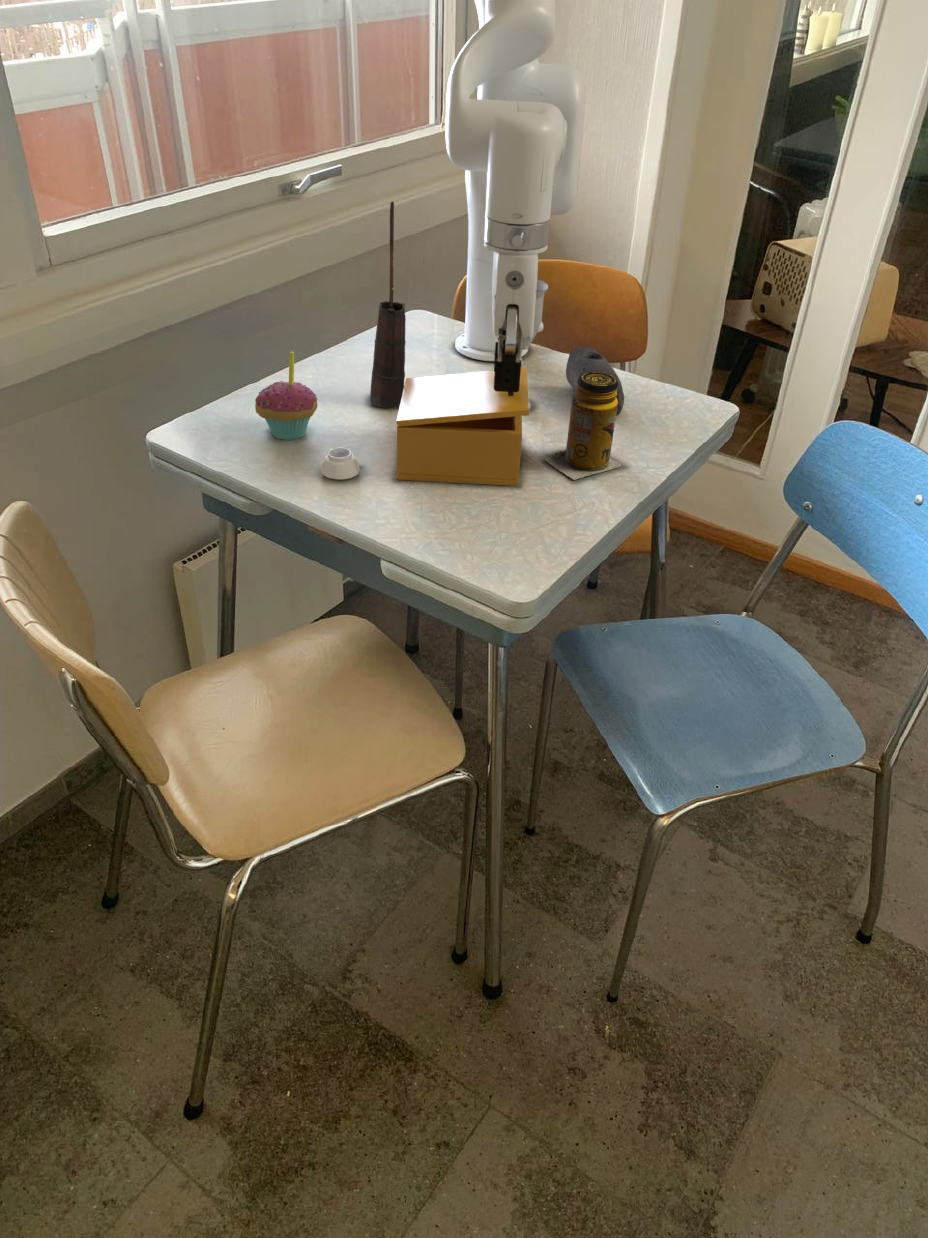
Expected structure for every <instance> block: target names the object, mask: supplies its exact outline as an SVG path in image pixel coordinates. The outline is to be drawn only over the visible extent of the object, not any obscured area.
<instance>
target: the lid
mask: <svg viewBox="0 0 928 1238" xmlns="http://www.w3.org/2000/svg"><path fill="white" fill-rule="evenodd" d="M494 375H495V372H494V369H492V370H482V371H481V370H480V371H470V372H459V373H449V374H439V375H427V376H416V377H407V378H406V377H405V380H404V390H403V394H402V399H401V403H400V405H399V407H398V412H397V418H396V420H395V421H396V428H397V427H399V426H411V425H422V424H434V423H445V422H457V421H468V420H480V419H491V418H503V417H514V416H522V417H525V416H530V409H529V402H530V398H529V397H530V396H529V379H528V375H529V374H528V367H527V366H525V367H521V373H520V386H519V391H518V392H500V391H495V390H494Z"/></svg>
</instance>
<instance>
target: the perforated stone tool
mask: <svg viewBox="0 0 928 1238" xmlns="http://www.w3.org/2000/svg"><path fill="white" fill-rule="evenodd" d="M586 372H604V373H607V374H610V375H612V376H614V377H615V378H616V379H617V381H618V386H617V396H616V398H617V400H618V407H617V412H616V417H618V416H619V415H620V414H621V413H622V412H623V409H624V406H625V393H624V389H623V384H622V381H621V379H620V377H619V375H618V374H617V372H616V371H615V370H614V368H613V366H612V364H610V363H609V361H608V360H607V359H606V358H605V357H604V356H603V355H602V354H601V353H599V352H597V350H595V349H594V348H593V347H589V346H578V347H576V348H574V349H573V350H571V351H570V352H569V354H568V358H567V362H566V367H565V376H566V377H565V378H566V380H567V382H568V384H569V386H570V387H571V388H572V391H574V394H575V393H576V387H577V385H578V384H577V380H578V378H579V376H580V375H581V374H583V373H586Z"/></svg>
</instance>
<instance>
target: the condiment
mask: <svg viewBox="0 0 928 1238" xmlns="http://www.w3.org/2000/svg"><path fill="white" fill-rule="evenodd" d="M577 384H578V385H577V387H576V393H575V392H574V395H572V398H571V405H570V414H569V421H568V422H569V423H568V431H567V438H566V447H565V450H560V451H558V452H554V453H551V454H545V455H541V456H540V457H541V458H542V459H543V460H544V461H545V462H547V463H548V464H549V465H551V466H552V467H553V468H555V469H556V470H558V472H561V473H562V474H564V475H565V476H567V477H569V478H570V479H571V480H573V481H576V480H578V479H583V478H585V477H588V476H592V475H596V474H600V473H604V472H606V471H610V470H613V469H617V468H620V467H622V466H623V464H621V463H619V462H618V461H616V460H614V459H612V458H611V453H612V445H613V439H614V438H613V437H614V432H615V425H616V419H617V416H616V412H617V407H618V400H617V398H616V396H617V386H618V381H617V379H616V378H615V377H614V376H612V375H610V374H607V373H604V372H586V373H583V374H581V375H580V376H579V378H578V380H577Z"/></svg>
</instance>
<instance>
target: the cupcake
mask: <svg viewBox="0 0 928 1238" xmlns="http://www.w3.org/2000/svg"><path fill="white" fill-rule="evenodd" d="M288 360H289V361H288V381H283V380H279V381H275V382H273V383H272V384H269V385H268V386H266V387H265V388H263V389H262V390H260V391H259V392H258V394H257V396H256V398H255V405H254V406H255V407H254V408H255V410H254V411H255V413H256V414H258V416H259V417H260V418H262V419H264V420H265V421H266V423H267V426H268V428H269V430H270V433H271V435H272V436H273V437H274V438H276V439H278V440H283V441H284V440H285V441H291V440H298V439H300V438H302V437H304V436H305V434H307V430H308V426H309V422H310V419H311V417H312V416H313V415H314V414H315V412H316V411H317V409H318V398H317V395H316V394H315V392H314V391H313V390H312V389H311V388H310V387H307V384H306V385H305V384H304V385H303V384H302V383H301V382H295V351H294V345H291V351H289V358H288Z"/></svg>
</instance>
